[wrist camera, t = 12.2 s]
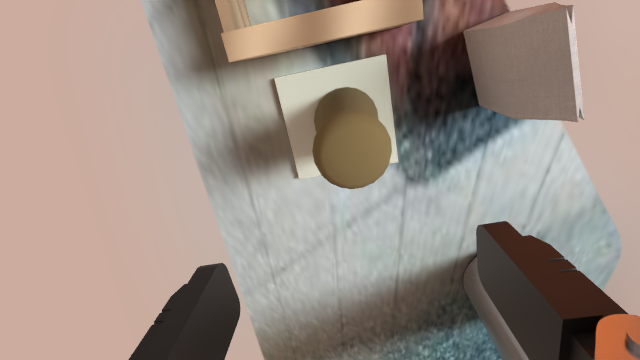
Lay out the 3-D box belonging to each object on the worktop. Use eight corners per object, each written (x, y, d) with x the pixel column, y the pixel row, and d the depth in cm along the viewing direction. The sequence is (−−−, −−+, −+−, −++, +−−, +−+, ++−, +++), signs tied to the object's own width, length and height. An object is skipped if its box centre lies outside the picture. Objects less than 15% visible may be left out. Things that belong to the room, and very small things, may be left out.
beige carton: (479, 105, 29) (548, 132, 20) (463, 31, 26) (532, 21, 17) (520, 90, 28) (612, 110, 19) (507, 12, 26) (605, -9, 16)
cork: (352, 162, 31) (361, 218, 21) (301, 127, 29) (285, 169, 19) (392, 112, 29) (424, 147, 18) (339, 72, 27) (343, 87, 17)
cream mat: (384, 54, 27) (386, 54, 27) (396, 160, 31) (398, 161, 30) (275, 77, 28) (274, 78, 28) (299, 176, 32) (299, 179, 32)
